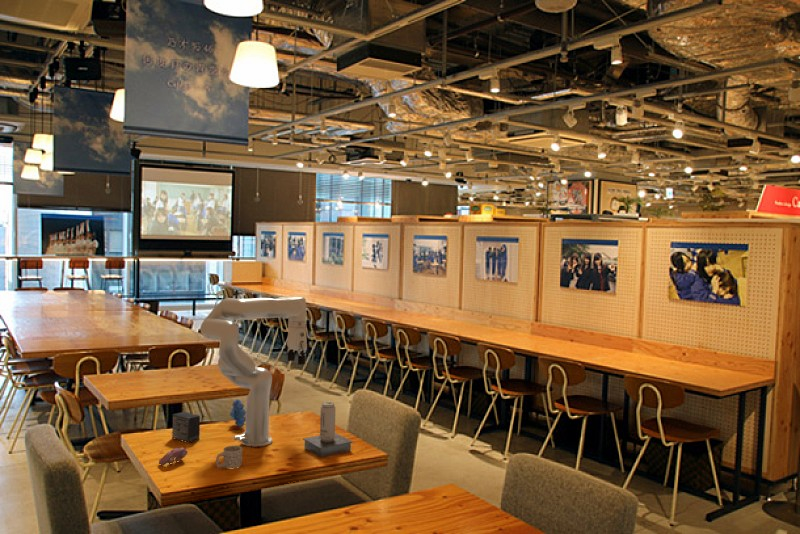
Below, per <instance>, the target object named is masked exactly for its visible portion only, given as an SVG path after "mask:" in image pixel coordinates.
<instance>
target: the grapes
mask: <svg viewBox="0 0 800 534" xmlns="http://www.w3.org/2000/svg"><path fill="white" fill-rule="evenodd" d="M232 406H233V407H232V409H231V411H230V412H229V416H230V417H231V418H232V419H233V420H234V421H235V422H234V424H235V425H236V427H240V428H243V427H244V425H245V423H246V409H244V407H245V404H244V403H242V401H241V400H240V399H236V400H234V401H233V402H232Z"/></svg>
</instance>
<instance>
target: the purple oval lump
mask: <svg viewBox="0 0 800 534" xmlns="http://www.w3.org/2000/svg"><path fill="white" fill-rule="evenodd" d="M187 455H188V450H186V448H184V447H176V448H173V449H172V450H169V451H167V453H165V454H164V455H163V457H161V458H160V459H159V461H158V464H161V465H162V466H164V465H166V464H168V463H169V464H170V463H173V462H174V463H175V462H176V461H180V460H181V461H182V459H184V458H185V457H186V456H187ZM181 461H180V462H181ZM174 463H173V464H174ZM161 465H160V466H161Z"/></svg>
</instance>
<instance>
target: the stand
mask: <svg viewBox="0 0 800 534" xmlns="http://www.w3.org/2000/svg"><path fill="white" fill-rule="evenodd" d="M302 440H303V441H304V450H306V451H309V452H310V453H312V454H314V455H315V456H318V457H319V458H325V457H329V456H334V455H338V454H337V453H339V454H342V453H341V452H344V453H347V452H346V451H348V452H351V451H350V450H351V448H352V446H351V445H352V443H353V441H352V440H350V439H349V438H346V437H344V436H342V435H341V434H339V433H336V432H335V438H334V439H333V441H330V442H324V441H322V440H321V438H320V435H315V436H310V437H304V438H303V439H302ZM333 454H334V455H333Z"/></svg>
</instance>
